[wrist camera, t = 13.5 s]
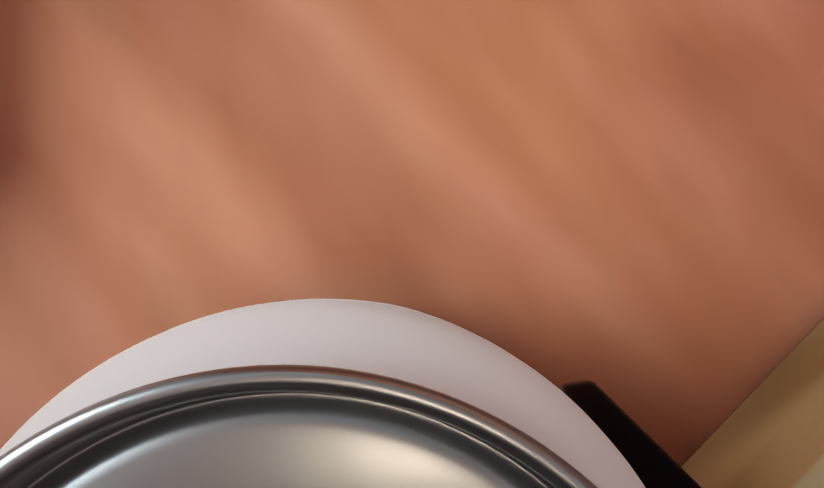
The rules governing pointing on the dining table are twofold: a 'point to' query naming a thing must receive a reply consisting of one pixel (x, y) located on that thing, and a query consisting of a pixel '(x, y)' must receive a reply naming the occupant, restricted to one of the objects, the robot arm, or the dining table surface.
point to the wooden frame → (772, 429)
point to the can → (313, 410)
